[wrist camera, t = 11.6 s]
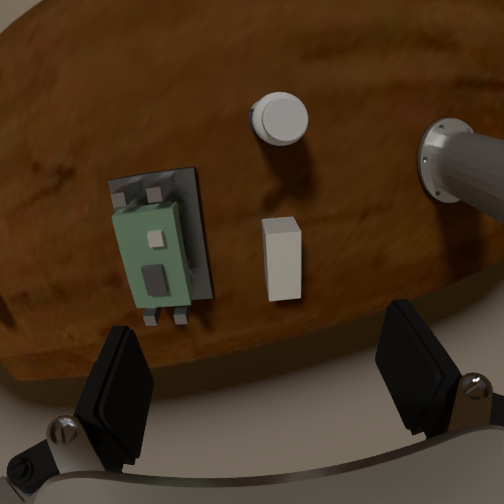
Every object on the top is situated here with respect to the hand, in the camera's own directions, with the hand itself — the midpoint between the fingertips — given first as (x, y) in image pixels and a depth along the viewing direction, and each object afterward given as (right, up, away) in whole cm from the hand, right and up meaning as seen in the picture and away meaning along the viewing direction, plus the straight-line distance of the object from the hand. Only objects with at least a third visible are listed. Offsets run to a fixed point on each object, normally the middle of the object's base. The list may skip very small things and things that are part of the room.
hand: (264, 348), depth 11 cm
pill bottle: (+2, +19, +23) cm, 30 cm away
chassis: (-12, +5, +28) cm, 31 cm away
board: (-12, +3, +25) cm, 28 cm away
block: (+3, +4, +30) cm, 30 cm away
